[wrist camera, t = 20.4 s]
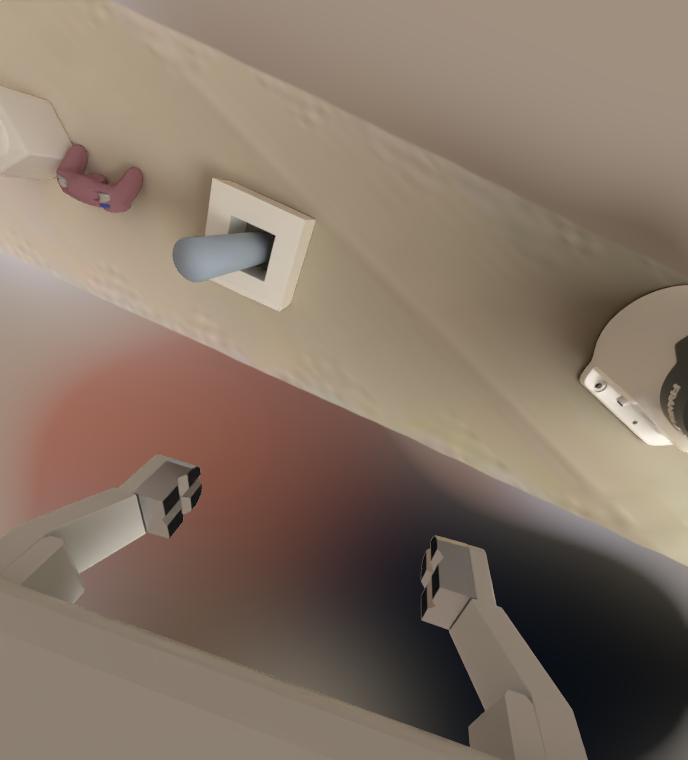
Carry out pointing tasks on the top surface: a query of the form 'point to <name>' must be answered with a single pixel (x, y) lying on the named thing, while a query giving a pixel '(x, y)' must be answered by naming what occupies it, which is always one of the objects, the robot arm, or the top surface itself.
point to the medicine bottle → (30, 136)
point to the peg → (221, 254)
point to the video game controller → (96, 183)
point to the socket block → (291, 228)
